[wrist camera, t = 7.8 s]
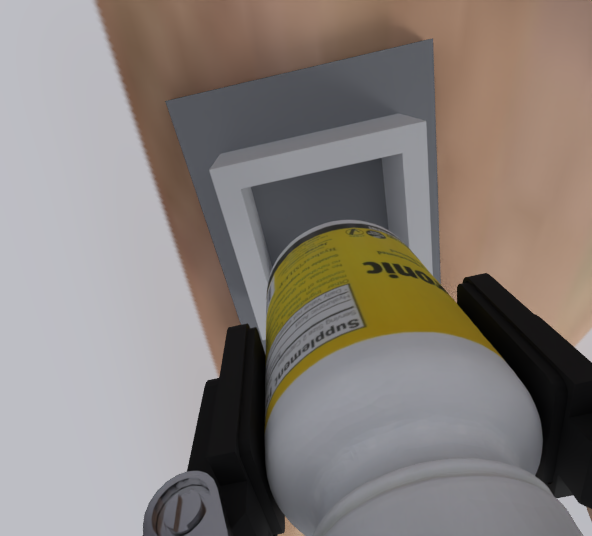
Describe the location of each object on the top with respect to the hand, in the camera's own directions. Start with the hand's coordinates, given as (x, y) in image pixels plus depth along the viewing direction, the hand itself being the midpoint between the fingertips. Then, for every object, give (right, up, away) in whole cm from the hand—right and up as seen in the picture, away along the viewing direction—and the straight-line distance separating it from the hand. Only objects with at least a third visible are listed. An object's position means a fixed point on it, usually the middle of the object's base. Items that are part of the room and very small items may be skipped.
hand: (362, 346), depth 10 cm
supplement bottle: (0, +2, +3) cm, 4 cm away
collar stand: (0, +3, +11) cm, 12 cm away
